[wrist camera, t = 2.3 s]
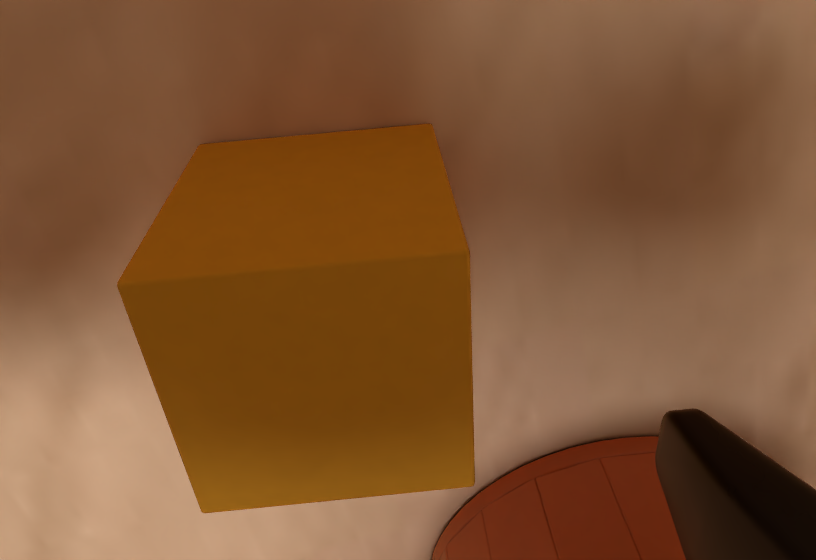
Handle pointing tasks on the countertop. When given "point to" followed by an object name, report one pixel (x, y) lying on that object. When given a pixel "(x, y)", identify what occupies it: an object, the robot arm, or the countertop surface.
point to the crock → (570, 509)
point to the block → (310, 319)
